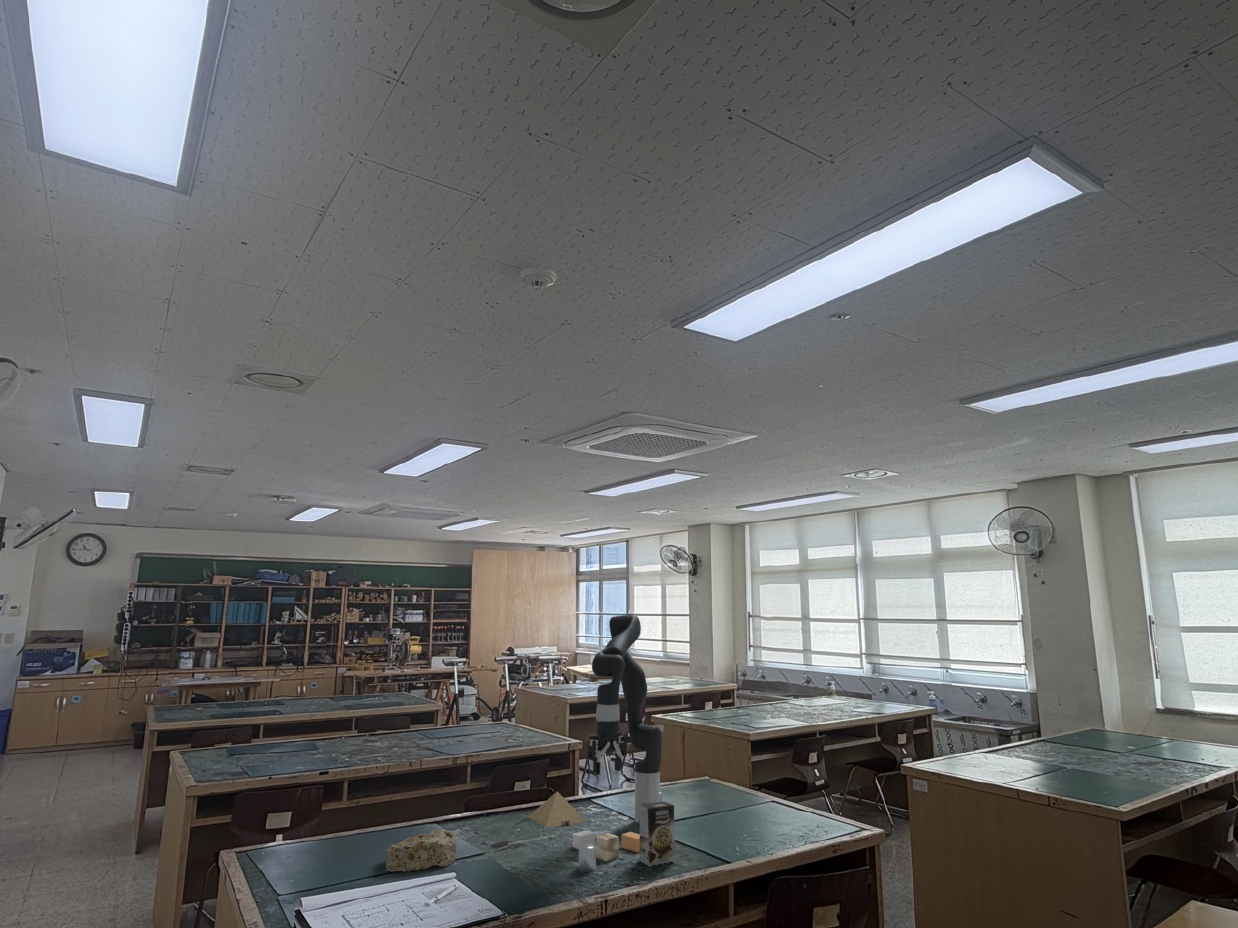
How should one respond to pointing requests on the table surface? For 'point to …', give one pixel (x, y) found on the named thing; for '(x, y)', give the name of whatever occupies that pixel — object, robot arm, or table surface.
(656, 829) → the coffee box
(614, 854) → the maple block
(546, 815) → the model pyramid
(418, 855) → the rock
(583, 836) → the off-white plastic block
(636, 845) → the orange plastic block
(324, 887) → the table surface
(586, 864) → the brushed metal cylinder
